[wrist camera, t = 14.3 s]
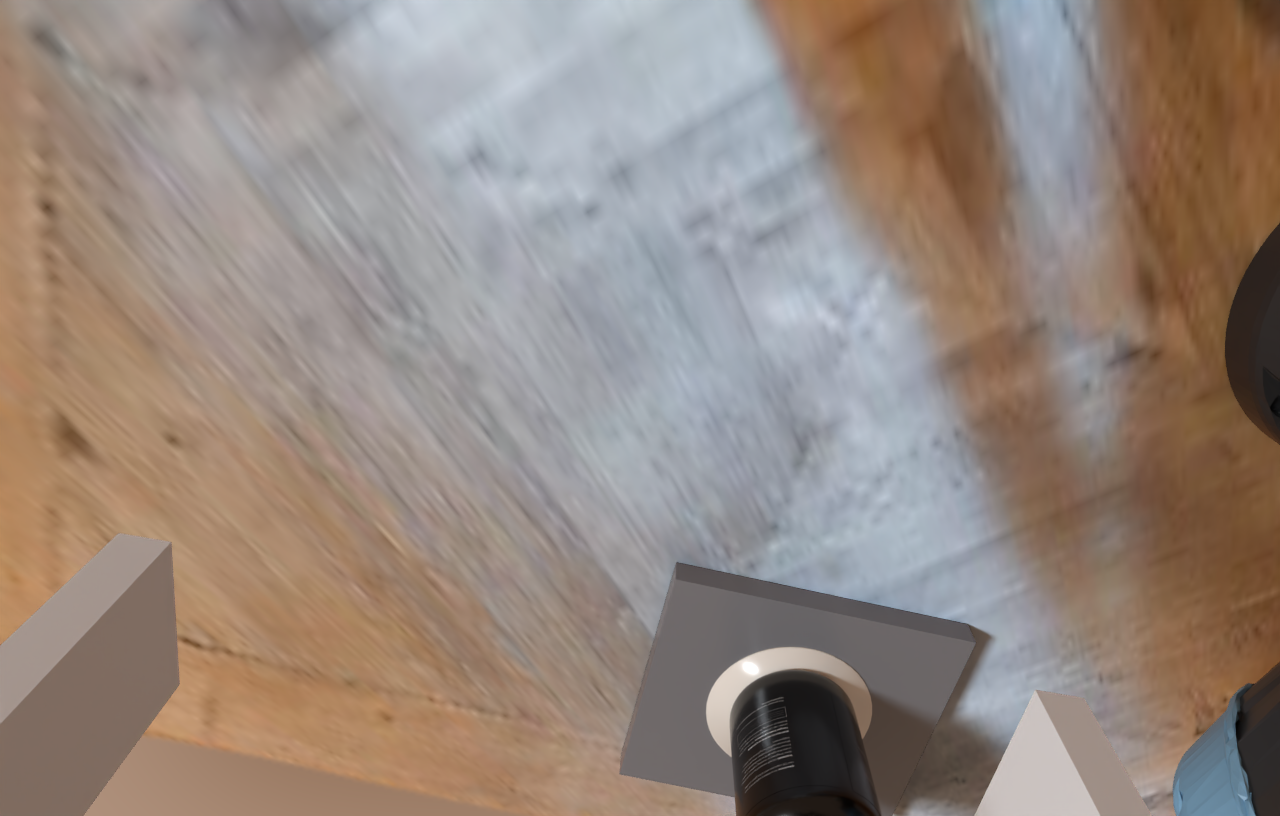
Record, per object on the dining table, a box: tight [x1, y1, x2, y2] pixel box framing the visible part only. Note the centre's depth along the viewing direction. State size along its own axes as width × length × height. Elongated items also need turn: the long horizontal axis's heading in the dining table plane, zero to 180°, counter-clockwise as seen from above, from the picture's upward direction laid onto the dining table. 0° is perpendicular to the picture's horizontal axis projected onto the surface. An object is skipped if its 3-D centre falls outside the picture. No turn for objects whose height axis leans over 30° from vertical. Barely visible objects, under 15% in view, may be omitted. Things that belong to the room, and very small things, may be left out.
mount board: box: [620, 563, 976, 816], centre depth 49 cm, size 16×14×2 cm
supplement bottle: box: [730, 670, 882, 816], centre depth 43 cm, size 7×7×12 cm
